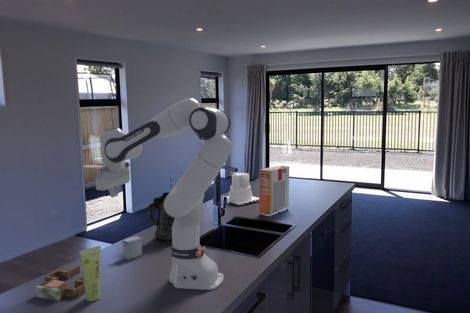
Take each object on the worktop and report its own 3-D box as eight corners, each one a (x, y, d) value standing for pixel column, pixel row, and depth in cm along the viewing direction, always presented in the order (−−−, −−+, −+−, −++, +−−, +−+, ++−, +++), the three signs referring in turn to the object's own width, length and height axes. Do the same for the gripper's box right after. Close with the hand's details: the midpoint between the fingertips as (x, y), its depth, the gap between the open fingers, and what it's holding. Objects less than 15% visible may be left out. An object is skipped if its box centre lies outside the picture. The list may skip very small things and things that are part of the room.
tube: (95, 303, 140) (92, 251, 138) (82, 301, 141) (79, 250, 138) (102, 295, 146) (100, 245, 143) (90, 294, 146) (87, 244, 144)
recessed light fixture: (243, 196, 308) (243, 169, 305) (262, 201, 291) (263, 173, 288) (218, 201, 292) (218, 173, 289) (237, 207, 275) (237, 177, 272)
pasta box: (278, 207, 273) (279, 165, 269) (288, 209, 267) (289, 166, 264) (259, 214, 255) (259, 169, 251) (269, 217, 250) (270, 171, 246)
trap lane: (108, 276, 162) (108, 267, 162) (69, 303, 140) (69, 292, 140) (68, 270, 168) (67, 261, 168) (24, 294, 146) (23, 284, 146)
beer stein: (192, 237, 211) (191, 192, 208) (167, 247, 195) (166, 199, 192) (170, 231, 220) (169, 188, 217) (144, 241, 204) (142, 194, 201)
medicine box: (136, 253, 188) (136, 235, 187) (142, 255, 185) (142, 237, 184) (122, 258, 182) (122, 240, 181) (128, 260, 179) (127, 242, 178)
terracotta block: (66, 291, 149) (65, 281, 149) (56, 297, 144) (55, 287, 144) (55, 289, 151) (54, 280, 150) (45, 295, 146) (44, 285, 145)
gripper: (104, 169, 158) (105, 202, 160) (131, 162, 178) (132, 192, 179) (91, 168, 160) (92, 201, 162) (119, 162, 179) (121, 191, 181)
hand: (114, 196), depth 171 cm, fingers closed
